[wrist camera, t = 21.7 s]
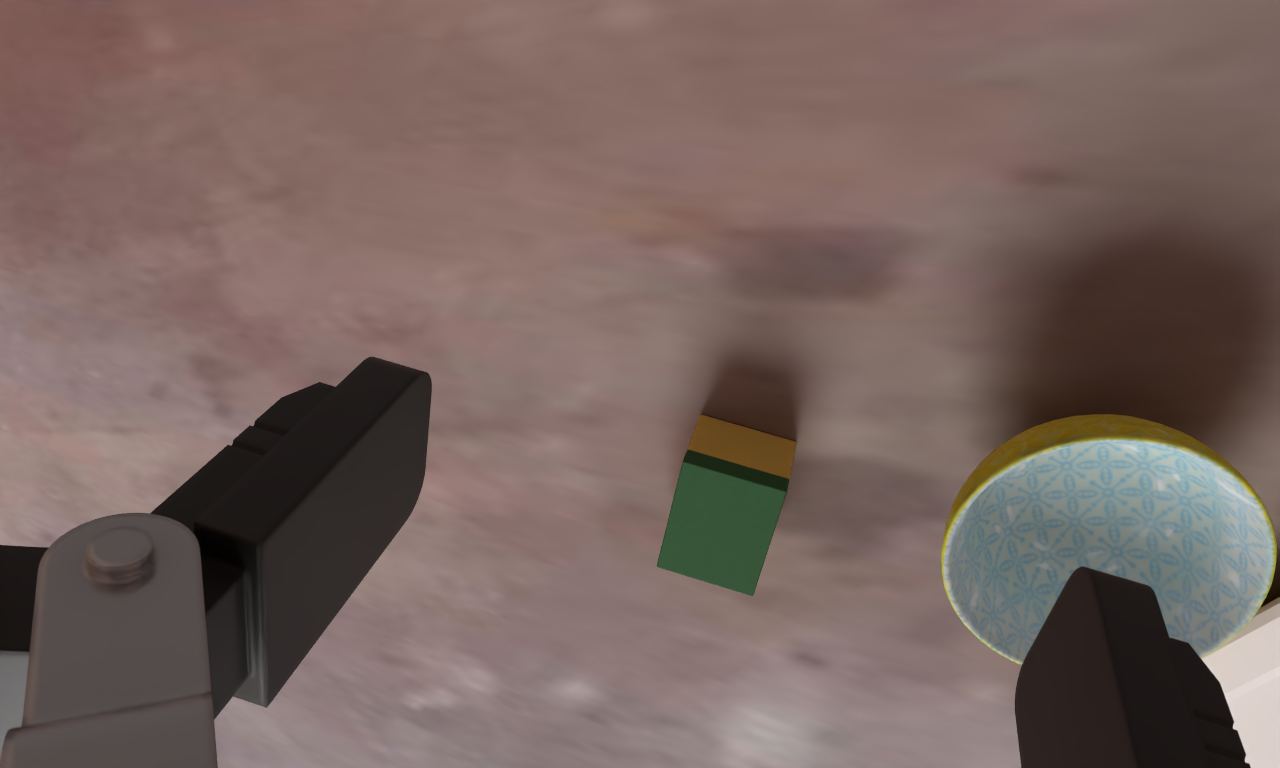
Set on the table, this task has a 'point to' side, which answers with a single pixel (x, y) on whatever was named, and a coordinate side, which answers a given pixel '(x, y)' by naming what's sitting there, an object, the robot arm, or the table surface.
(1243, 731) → the plate
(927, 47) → the table surface
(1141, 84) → the table surface
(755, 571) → the sponge
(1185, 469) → the bowl
